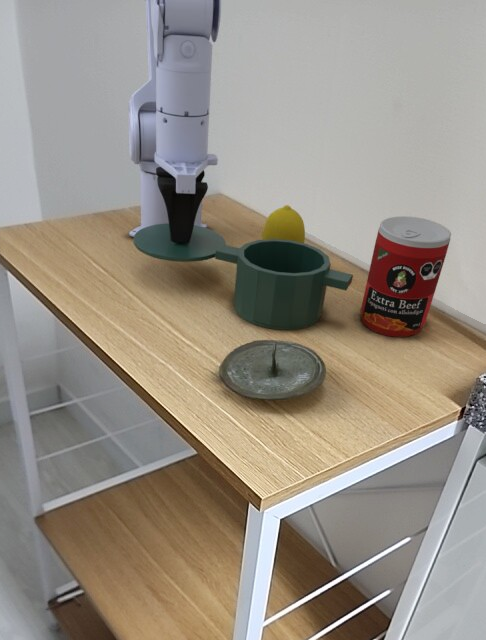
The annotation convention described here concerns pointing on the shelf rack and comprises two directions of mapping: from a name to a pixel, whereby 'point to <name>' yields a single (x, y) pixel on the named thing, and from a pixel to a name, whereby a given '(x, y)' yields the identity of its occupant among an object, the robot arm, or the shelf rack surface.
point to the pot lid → (178, 244)
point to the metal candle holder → (272, 370)
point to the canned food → (403, 275)
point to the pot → (281, 282)
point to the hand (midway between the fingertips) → (179, 237)
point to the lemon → (284, 225)
